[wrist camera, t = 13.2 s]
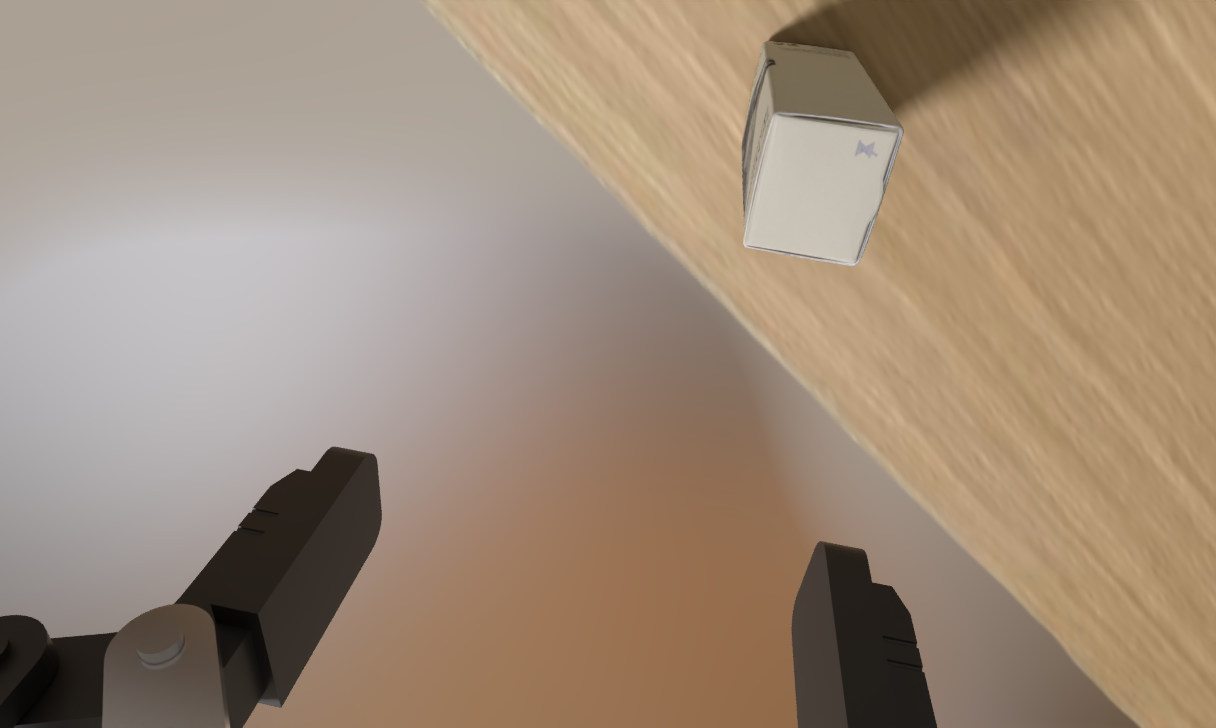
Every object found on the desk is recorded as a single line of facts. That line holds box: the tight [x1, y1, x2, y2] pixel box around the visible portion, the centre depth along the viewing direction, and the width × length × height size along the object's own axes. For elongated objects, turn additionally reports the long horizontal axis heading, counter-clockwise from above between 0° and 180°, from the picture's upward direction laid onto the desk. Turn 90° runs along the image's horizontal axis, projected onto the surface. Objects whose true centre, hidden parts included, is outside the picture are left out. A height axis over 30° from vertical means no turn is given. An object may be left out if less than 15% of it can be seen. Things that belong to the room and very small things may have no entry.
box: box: [742, 41, 904, 266], centre depth 30 cm, size 5×4×13 cm
